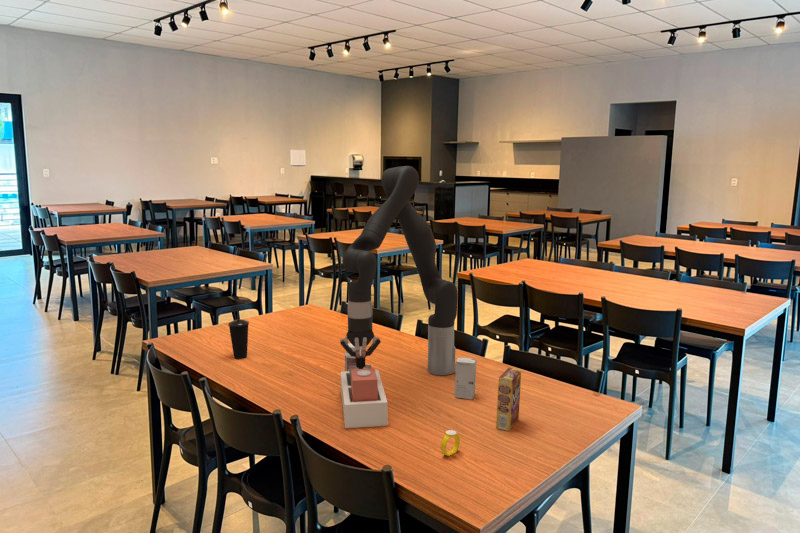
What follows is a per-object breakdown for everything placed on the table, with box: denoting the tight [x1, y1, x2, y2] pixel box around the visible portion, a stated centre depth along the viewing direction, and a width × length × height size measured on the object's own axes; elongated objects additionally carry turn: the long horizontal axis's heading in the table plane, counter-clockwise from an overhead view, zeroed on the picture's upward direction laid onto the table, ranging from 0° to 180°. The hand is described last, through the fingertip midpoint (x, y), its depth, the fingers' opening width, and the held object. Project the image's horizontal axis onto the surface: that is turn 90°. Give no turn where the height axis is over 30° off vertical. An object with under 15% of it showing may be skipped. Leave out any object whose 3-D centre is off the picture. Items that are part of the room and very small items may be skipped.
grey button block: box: [349, 364, 373, 386], centre depth 177 cm, size 7×9×8 cm
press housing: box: [340, 369, 389, 429], centre depth 171 cm, size 12×26×7 cm, turn 8°
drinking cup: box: [227, 306, 250, 360], centre depth 216 cm, size 8×8×20 cm
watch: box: [440, 429, 461, 457], centre depth 144 cm, size 6×3×6 cm, turn 136°
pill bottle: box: [344, 342, 361, 372], centre depth 197 cm, size 6×6×11 cm
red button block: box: [351, 367, 378, 402], centre depth 164 cm, size 7×9×8 cm
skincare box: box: [454, 357, 477, 400], centre depth 179 cm, size 6×4×12 cm
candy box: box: [495, 367, 522, 432], centre depth 159 cm, size 9×4×15 cm, turn 152°
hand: (360, 368), depth 176 cm, fingers closed
